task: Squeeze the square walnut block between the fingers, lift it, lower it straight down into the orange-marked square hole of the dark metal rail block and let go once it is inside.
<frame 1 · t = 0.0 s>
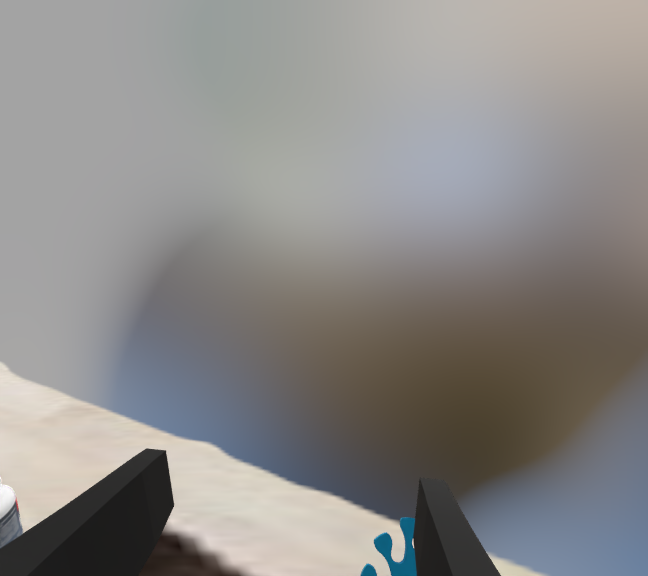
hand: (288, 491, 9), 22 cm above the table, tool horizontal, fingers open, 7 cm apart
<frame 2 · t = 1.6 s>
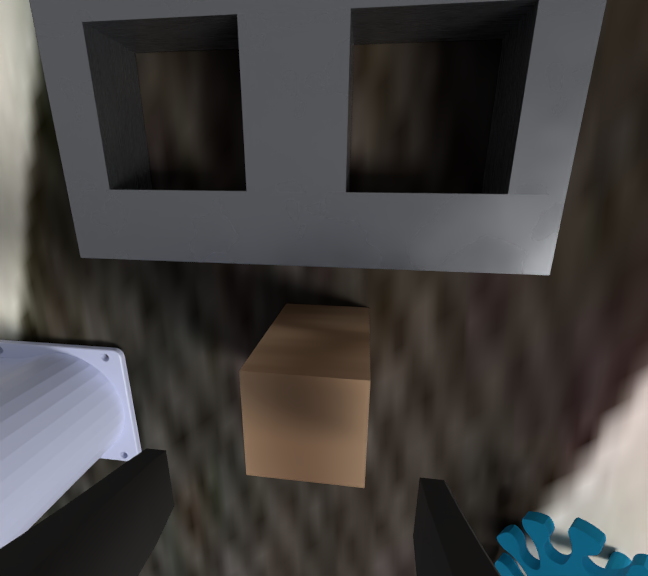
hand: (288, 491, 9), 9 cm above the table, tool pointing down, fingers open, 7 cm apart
walnut block: (326, 343, 18), on the table
gear: (552, 548, 21), on the table
rail block: (307, 122, 15), on the table
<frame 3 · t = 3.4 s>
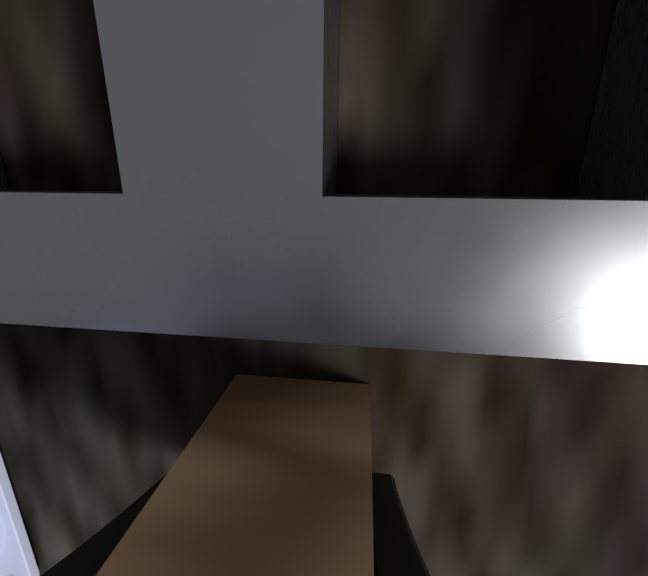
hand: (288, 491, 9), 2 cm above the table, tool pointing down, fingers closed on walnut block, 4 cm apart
walnut block: (302, 435, 12), on the table, touching gripper
rail block: (259, 69, 8), on the table
when the fingers open (4 cm above the table, at t = 10.4 s): walnut block drops 1 cm, resting in rail block.
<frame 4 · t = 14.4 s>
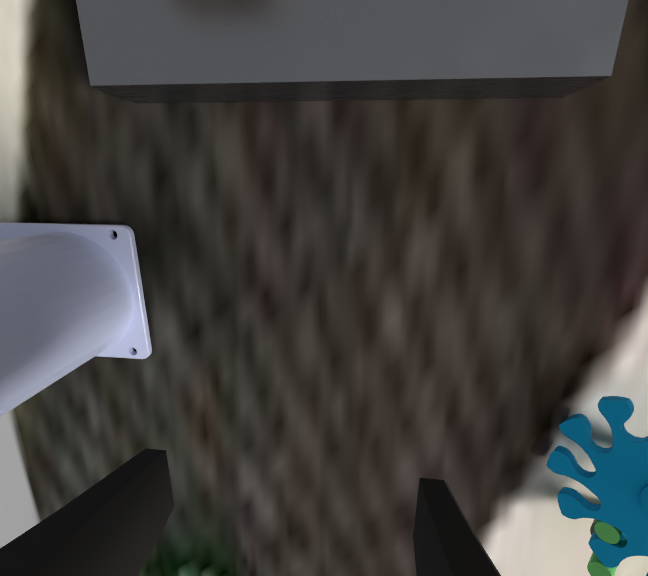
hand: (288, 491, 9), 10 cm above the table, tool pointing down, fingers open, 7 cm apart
gear: (606, 448, 20), on the table
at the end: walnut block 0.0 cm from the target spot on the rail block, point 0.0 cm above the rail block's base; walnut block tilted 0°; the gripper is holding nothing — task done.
